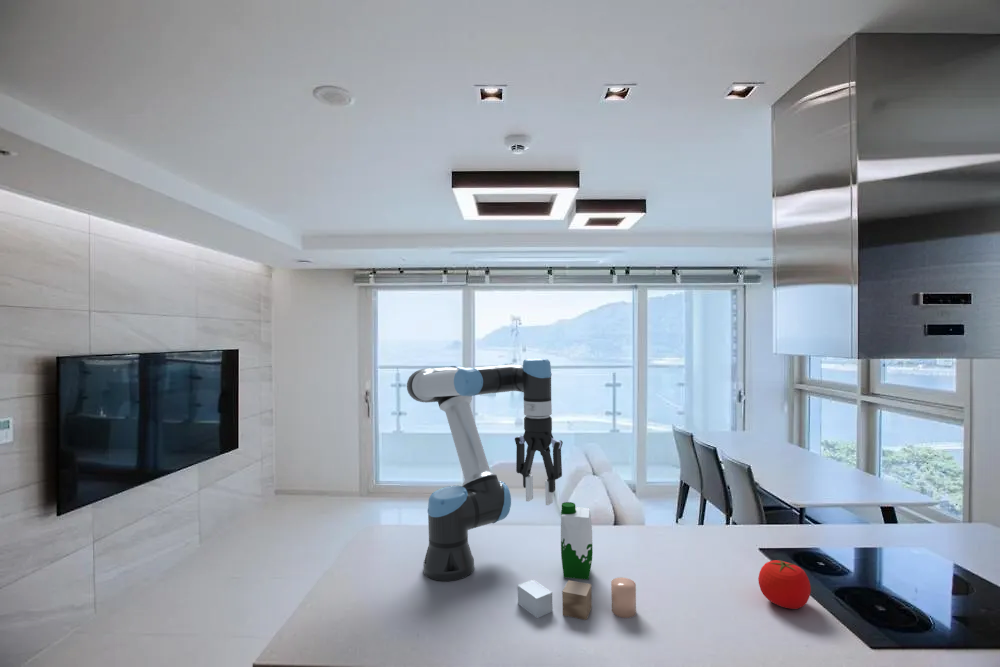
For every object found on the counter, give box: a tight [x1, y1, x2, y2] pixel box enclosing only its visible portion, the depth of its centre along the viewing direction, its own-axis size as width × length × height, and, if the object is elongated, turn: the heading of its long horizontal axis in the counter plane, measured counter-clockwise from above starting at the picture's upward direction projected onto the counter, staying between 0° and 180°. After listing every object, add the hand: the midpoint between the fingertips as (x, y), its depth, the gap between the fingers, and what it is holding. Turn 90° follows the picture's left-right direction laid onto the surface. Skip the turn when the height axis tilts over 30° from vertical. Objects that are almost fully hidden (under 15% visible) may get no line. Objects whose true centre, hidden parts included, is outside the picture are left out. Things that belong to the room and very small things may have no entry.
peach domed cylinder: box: [610, 577, 637, 619], centre depth 126 cm, size 6×6×7 cm
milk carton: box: [560, 501, 593, 581], centre depth 145 cm, size 9×9×20 cm
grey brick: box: [517, 579, 554, 619], centre depth 128 cm, size 8×5×5 cm, turn 34°
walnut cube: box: [561, 579, 593, 621], centre depth 126 cm, size 6×6×6 cm
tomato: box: [757, 559, 812, 610], centre depth 128 cm, size 11×12×10 cm
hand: (539, 501), depth 135 cm, fingers open, 5 cm apart
